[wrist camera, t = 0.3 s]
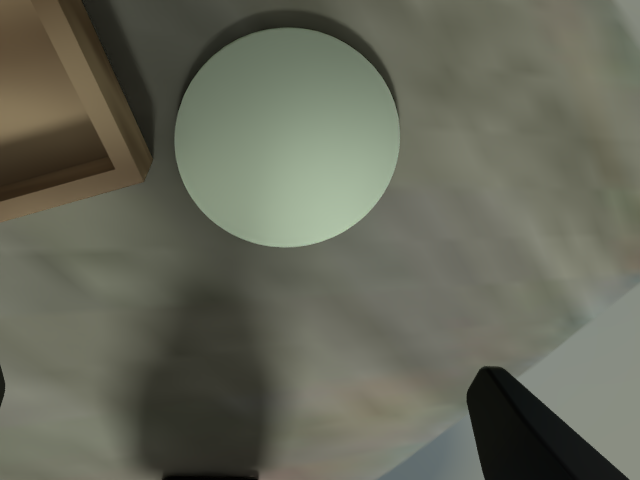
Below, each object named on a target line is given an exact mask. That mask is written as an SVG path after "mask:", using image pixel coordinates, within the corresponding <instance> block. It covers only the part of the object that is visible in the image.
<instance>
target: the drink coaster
mask: <svg viewBox="0 0 640 480" xmlns="http://www.w3.org/2000/svg"><path fill="white" fill-rule="evenodd" d="M174 145H175V155H176V161H177V165H178V169H179V173H180V175H181V178H182V180H183V183H184V185H185V187H186V189H187V191H188V192H189V194H190V196H191V198H192V199H193V200H194V202H195V203H196V204H197V206H198V207H199V208H200V209H201V211H202V212H203V213H204V214H205V215H206V216H207V217H208V218H209V219H211V220H212V221H213V222H214V223H215V224H217V225H218V226H219V227H221V228H222V229H224V230H226V231H227V232H229V233H230V234H232V235H235V236H237V237H239V238H241V239H243V240H246V241H249V242H252V243H255V244H260V245H265V246H272V247H298V246H305V245H310V244H314V243H318V242H322V241H324V240H327V239H329V238H332V237H334V236H336V235H338V234H340V233H342V232H344V231H346V230H347V229H349V228H350V227H352V226H353V225H355V224H356V223H357V222H358V221H360V220H361V219H362V218H363V217H364V216H365V215H366V214H367V213H368V212H369V211H370V210H371V209H372V208H373V207H374V206H375V205H376V203H377V202H378V200H379V199H380V198H381V196H382V195H383V193H384V192H385V190H386V188H387V186H388V184H389V182H390V180H391V178H392V175H393V173H394V170H395V167H396V163H397V159H398V154H399V147H400V127H399V118H398V114H397V110H396V106H395V102H394V100H393V97H392V95H391V93H390V90H389V88H388V87H387V85H386V83H385V81H384V80H383V78H382V76H381V75H380V74H379V73H378V71H377V70H376V69H375V68H374V66H373V65H372V64H371V63H370V62H369V61H368V60H367V59H366V58H365V57H363V56H362V55H361V54H360V53H359V52H357V51H356V50H355V49H353V48H352V47H350V46H349V45H348V44H346V43H344V42H342V41H340V40H338V39H337V38H335V37H333V36H330V35H327V34H324V33H321V32H319V31H315V30H309V29H304V28H292V27H282V28H271V29H266V30H262V31H258V32H253V33H251V34H248V35H246V36H243V37H241V38H238V39H236V40H235V41H233V42H231V43H230V44H228V45H226V46H224V47H223V48H222V49H220V50H219V51H218V52H217V53H215V54H214V55H213V56H212V57H211V58H210V59H209V60H208V61H207V62H206V63H205V64H204V65H203V66H202V67H201V68H200V69H199V71H198V72H197V74H196V75H195V77H194V78H193V79H192V81H191V83H190V85H189V86H188V88H187V90H186V92H185V94H184V97H183V99H182V102H181V105H180V108H179V111H178V115H177V120H176V125H175V139H174Z"/></svg>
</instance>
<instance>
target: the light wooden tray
mask: <svg viewBox="0 0 640 480" xmlns="http://www.w3.org/2000/svg"><path fill="white" fill-rule="evenodd" d="M152 161H153V158H152V156H151V154H150V151H149V149H148V147H147V145H146V142H145V140H144V138H143V136H142V134H141V131H140V129H139V127H138V125H137V123H136V120H135V118H134V116H133V114H132V111H131V109H130V107H129V105H128V103H127V100H126V98H125V96H124V94H123V92H122V89H121V87H120V85H119V83H118V80H117V78H116V76H115V74H114V72H113V69H112V67H111V65H110V63H109V60H108V58H107V56H106V54H105V52H104V49H103V47H102V45H101V43H100V41H99V38H98V36H97V34H96V32H95V29H94V27H93V25H92V23H91V21H90V18H89V16H88V14H87V12H86V10H85V7H84V5H83V3H82V1H81V0H0V222H4V221H7V220H11V219H14V218H18V217H21V216H25V215H28V214H32V213H36V212H39V211H43V210H46V209H50V208H53V207H57V206H60V205H64V204H67V203H71V202H75V201H78V200H82V199H85V198H89V197H92V196H96V195H99V194H103V193H106V192H110V191H114V190H117V189H121V188H124V187H128V186H131V185H135V184H138V183H142V182H144V180H145V178H146V176H147V173H148V171H149V168H150V166H151V164H152Z"/></svg>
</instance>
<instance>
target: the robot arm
mask: <svg viewBox="0 0 640 480" xmlns="http://www.w3.org/2000/svg"><path fill="white" fill-rule="evenodd" d="M4 393H5V380H4V377H3V373H2V369H1V366H0V407H1V403H2V400H3V397H4ZM467 405H468V410H469V414H470V419H471V423H472V427H473V432H474V436H475V441H476V445H477V450H478V455H479V459H480V463H481V467H482V471H483V475H484V478H485V480H629V479H628V478H627V477H626V476H625V475H624V474H623V473H621V472H620V471H619V470H618V469H617V468H616V467H615V466H614V465H612V464H611V463H610V462H609V461H608V460H607V459H606V458H604V457H603V456H602V455H601V454H600V453H599V452H598V451H596V450H595V449H594V448H593V447H592V446H591V445H590V444H589V443H587V442H586V441H585V440H584V439H583V438H582V437H581V436H580V435H579V434H577V433H576V432H575V431H574V430H573V429H572V428H571V427H569V426H568V425H567V424H566V423H565V422H564V421H563V420H562V419H560V418H559V417H558V416H557V415H556V414H555V413H554V412H552V411H551V410H550V409H549V408H548V407H547V406H546V405H545V404H544V403H542V402H541V401H540V400H539V399H538V398H537V397H535V396H534V395H533V394H532V393H531V392H530V391H529V390H528V389H527V388H525V387H524V386H523V385H522V384H521V383H520V382H519V381H517V380H516V379H515V378H514V377H513V376H512V375H511V374H510V373H508V372H507V371H506V370H505V369H503V368H501V367H494V366H484V367H482V368H481V369H480V370H479V371H478V373H477V375H476V377H475V378H474V380H473V382H472V384H471V385H470V387H469V389H468V391H467ZM163 480H257V479H252V478H204V477H167V478H165V479H163Z"/></svg>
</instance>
